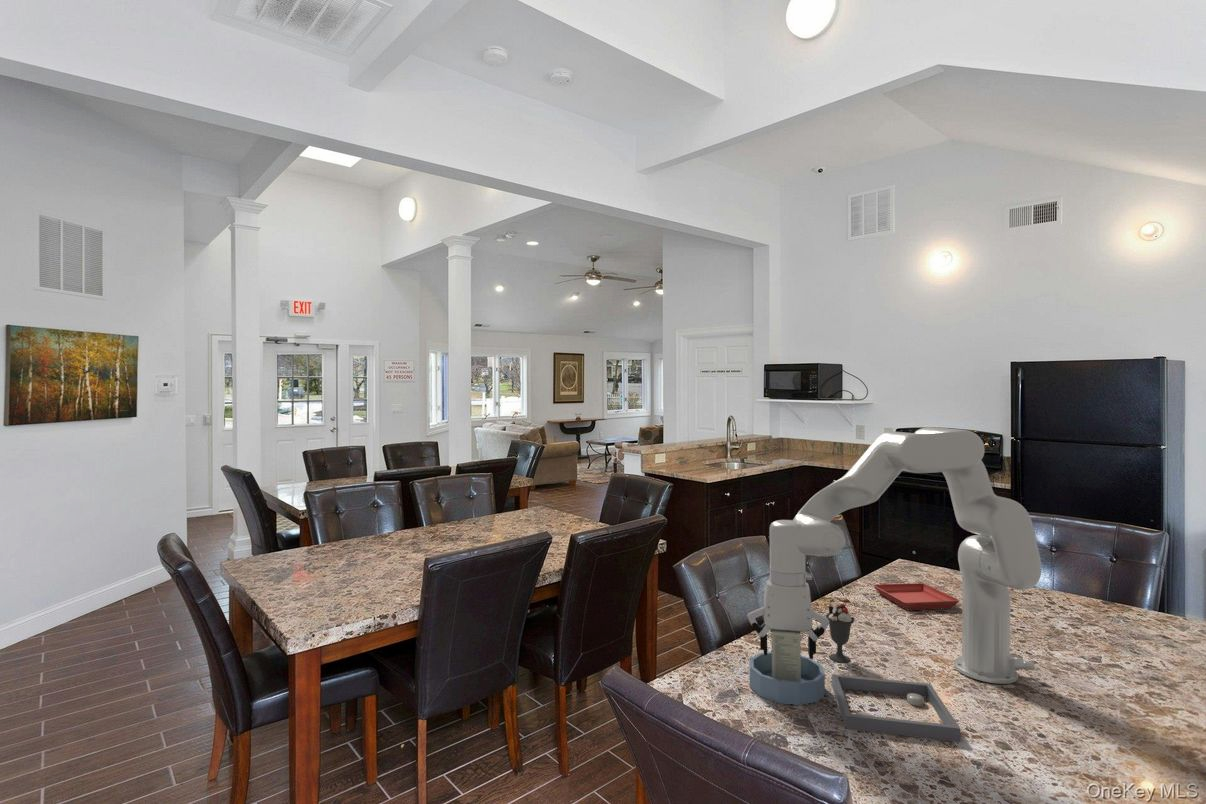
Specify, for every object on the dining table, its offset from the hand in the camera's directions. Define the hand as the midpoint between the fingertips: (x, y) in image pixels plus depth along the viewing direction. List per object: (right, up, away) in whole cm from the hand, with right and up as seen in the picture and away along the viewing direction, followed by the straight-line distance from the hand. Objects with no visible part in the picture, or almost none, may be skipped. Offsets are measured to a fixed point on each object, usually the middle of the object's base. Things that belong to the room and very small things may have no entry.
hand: (787, 654), depth 134 cm
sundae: (+17, -7, +15) cm, 24 cm away
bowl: (0, -7, 0) cm, 7 cm away
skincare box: (0, -7, 0) cm, 7 cm away
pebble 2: (+25, -8, -7) cm, 27 cm away
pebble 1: (+11, -8, -14) cm, 19 cm away
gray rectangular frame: (+18, -7, -10) cm, 22 cm away
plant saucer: (+57, -8, +57) cm, 81 cm away
